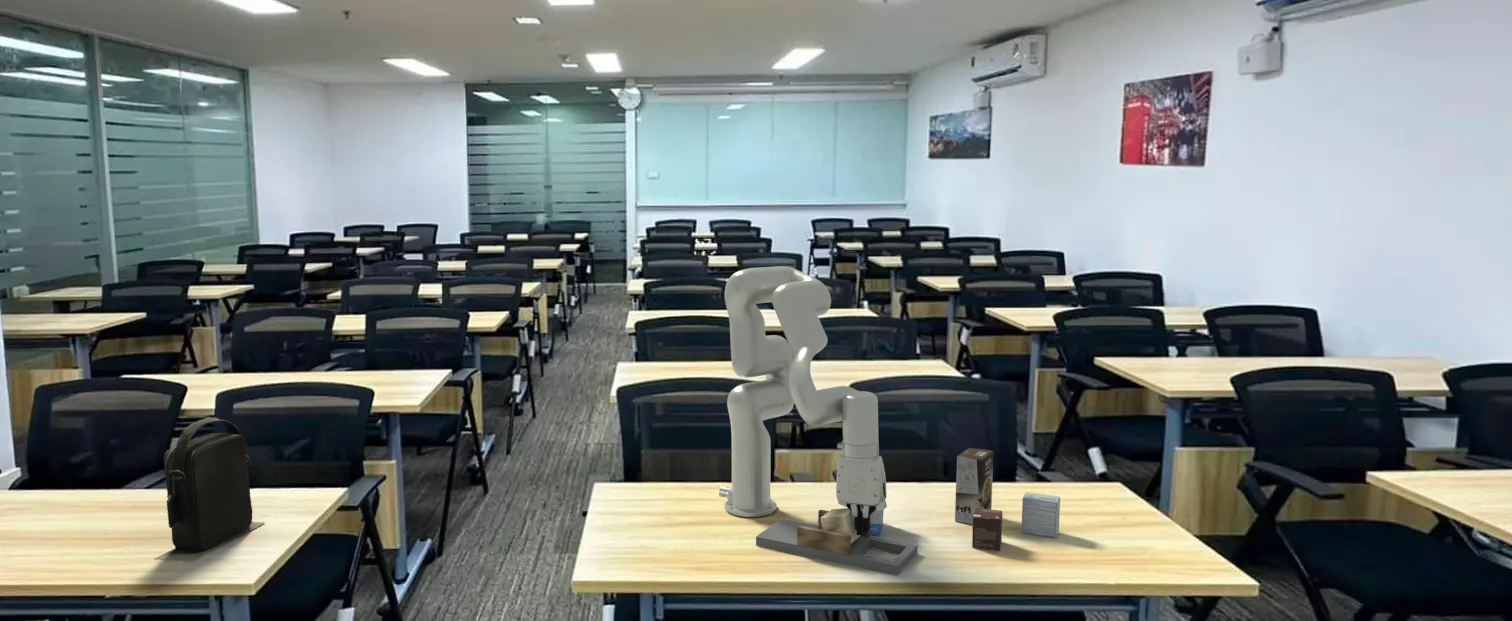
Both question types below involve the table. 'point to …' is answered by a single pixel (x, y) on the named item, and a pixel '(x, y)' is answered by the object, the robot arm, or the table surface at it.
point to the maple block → (840, 522)
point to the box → (987, 529)
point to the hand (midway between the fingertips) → (862, 533)
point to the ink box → (875, 522)
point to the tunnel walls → (824, 538)
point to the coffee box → (973, 483)
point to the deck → (786, 540)
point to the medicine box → (1040, 514)
